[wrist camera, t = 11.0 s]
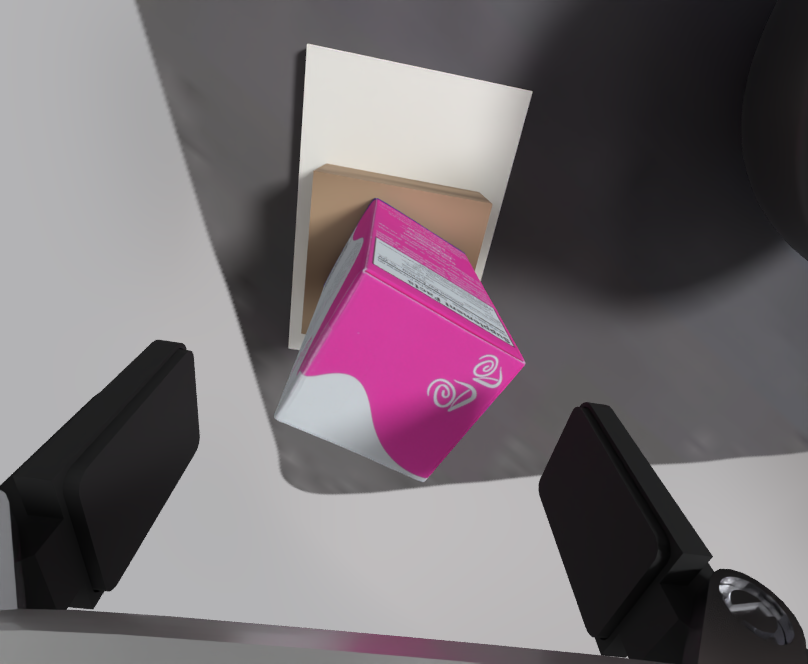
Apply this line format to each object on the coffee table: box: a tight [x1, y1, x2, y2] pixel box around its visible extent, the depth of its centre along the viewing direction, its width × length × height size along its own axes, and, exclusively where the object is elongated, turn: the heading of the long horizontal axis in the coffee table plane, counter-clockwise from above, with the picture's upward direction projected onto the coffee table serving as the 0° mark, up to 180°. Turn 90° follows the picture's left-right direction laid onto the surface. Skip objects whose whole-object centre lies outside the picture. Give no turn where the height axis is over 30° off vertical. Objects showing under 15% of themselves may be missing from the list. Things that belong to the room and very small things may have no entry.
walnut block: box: [301, 163, 493, 334], centre depth 24 cm, size 9×9×4 cm
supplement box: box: [274, 198, 525, 482], centre depth 17 cm, size 6×6×12 cm
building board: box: [288, 44, 533, 350], centre depth 26 cm, size 18×12×1 cm, turn 170°
